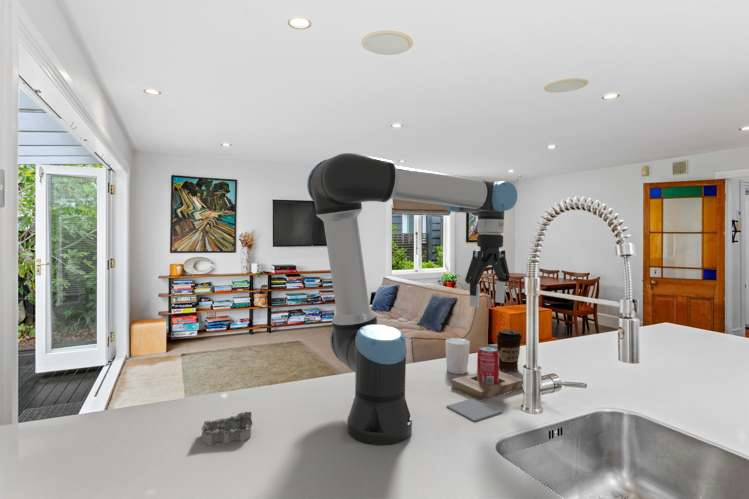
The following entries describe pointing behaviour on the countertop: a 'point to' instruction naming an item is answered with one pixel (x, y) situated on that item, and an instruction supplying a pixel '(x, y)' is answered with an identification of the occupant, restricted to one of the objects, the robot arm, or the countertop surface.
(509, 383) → the walnut holder
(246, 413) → the egg carton
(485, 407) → the grey rubber mat
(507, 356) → the coffee cup
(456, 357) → the white cup
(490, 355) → the soda can
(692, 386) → the countertop surface
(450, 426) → the countertop surface
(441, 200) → the robot arm
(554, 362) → the countertop surface
